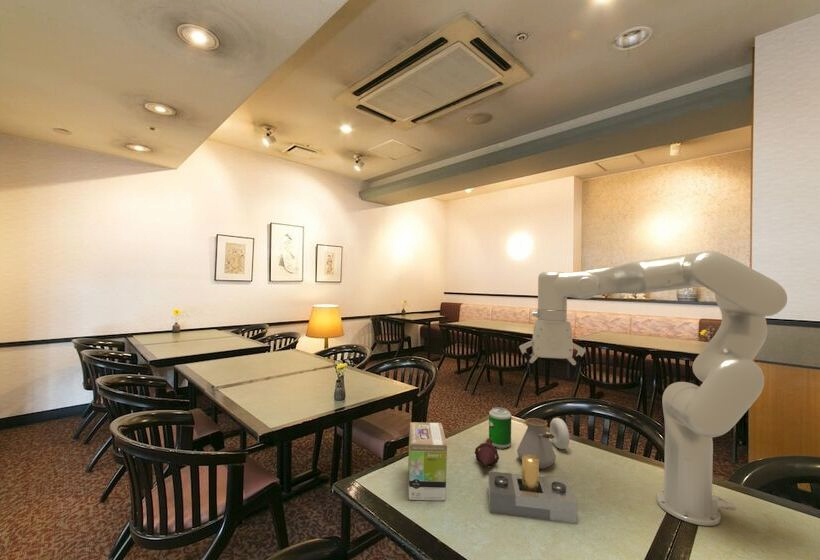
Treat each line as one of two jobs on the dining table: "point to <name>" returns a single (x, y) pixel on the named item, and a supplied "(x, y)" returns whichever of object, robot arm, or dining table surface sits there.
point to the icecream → (487, 454)
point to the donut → (559, 433)
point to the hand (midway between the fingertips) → (551, 377)
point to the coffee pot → (537, 443)
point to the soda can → (500, 427)
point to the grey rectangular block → (532, 498)
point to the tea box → (427, 461)
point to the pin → (530, 473)
